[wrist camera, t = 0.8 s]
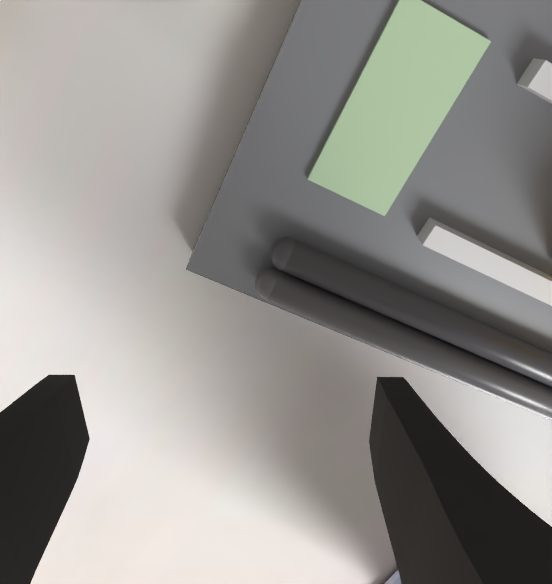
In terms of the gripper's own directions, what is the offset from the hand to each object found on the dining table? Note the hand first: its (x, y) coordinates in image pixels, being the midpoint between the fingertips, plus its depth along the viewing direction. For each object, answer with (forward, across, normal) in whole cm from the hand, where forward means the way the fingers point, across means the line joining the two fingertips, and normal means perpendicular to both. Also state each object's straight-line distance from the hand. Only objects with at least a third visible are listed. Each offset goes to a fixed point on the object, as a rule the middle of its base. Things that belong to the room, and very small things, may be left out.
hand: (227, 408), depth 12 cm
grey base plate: (+9, -14, -1) cm, 17 cm away
